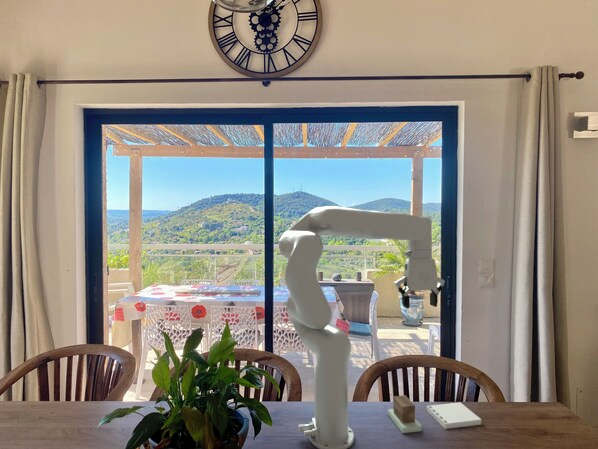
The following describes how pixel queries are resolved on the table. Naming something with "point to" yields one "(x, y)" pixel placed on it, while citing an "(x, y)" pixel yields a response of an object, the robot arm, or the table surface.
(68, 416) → the table surface
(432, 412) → the white flat slab
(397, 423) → the stub
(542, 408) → the table surface
